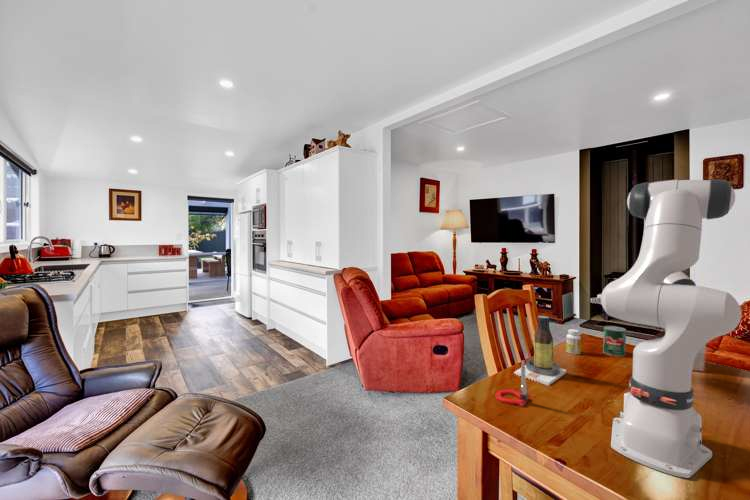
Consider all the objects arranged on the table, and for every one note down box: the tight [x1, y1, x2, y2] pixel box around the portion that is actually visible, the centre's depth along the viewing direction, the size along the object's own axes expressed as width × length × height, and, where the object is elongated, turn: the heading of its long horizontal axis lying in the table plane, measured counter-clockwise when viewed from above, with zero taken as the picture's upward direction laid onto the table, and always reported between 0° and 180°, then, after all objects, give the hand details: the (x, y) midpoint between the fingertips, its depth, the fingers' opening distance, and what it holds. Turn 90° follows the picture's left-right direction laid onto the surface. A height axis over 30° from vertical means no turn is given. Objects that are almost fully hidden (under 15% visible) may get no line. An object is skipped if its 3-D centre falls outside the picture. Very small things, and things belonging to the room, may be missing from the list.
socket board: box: [513, 358, 567, 386], centre depth 121 cm, size 16×12×3 cm
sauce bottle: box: [533, 315, 554, 369], centre depth 122 cm, size 6×6×20 cm
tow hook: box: [495, 359, 531, 407], centre depth 103 cm, size 8×13×9 cm
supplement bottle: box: [565, 328, 582, 355], centre depth 144 cm, size 5×5×10 cm
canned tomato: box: [602, 325, 627, 357], centre depth 142 cm, size 8×8×11 cm
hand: (599, 303), depth 120 cm, fingers open, 8 cm apart
